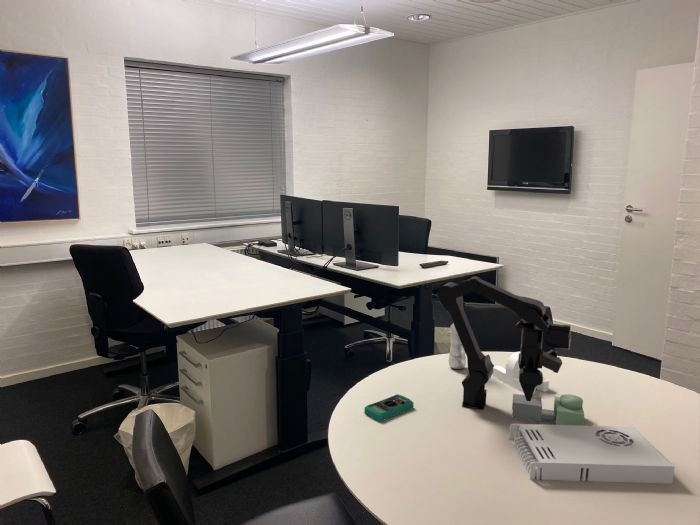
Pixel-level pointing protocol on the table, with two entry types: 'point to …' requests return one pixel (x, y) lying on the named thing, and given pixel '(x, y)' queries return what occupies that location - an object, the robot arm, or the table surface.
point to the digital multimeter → (389, 407)
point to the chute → (526, 408)
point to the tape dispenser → (514, 374)
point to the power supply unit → (590, 454)
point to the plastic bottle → (456, 351)
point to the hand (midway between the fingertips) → (528, 394)
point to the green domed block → (565, 411)
